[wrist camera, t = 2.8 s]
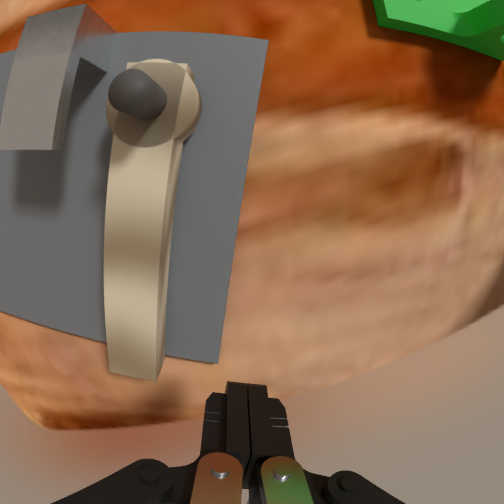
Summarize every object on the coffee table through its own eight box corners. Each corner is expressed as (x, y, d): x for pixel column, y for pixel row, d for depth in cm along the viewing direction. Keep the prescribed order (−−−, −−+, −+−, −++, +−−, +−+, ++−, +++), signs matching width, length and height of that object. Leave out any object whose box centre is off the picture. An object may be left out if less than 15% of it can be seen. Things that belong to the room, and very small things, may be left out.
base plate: (267, 46, 15) (268, 40, 14) (218, 355, 21) (218, 363, 20) (4, 57, 14) (-3, 54, 13) (-7, 301, 19) (-13, 305, 18)
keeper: (117, 33, 14) (86, 3, 9) (93, 150, 16) (51, 149, 11) (65, 39, 13) (27, 17, 9) (42, 149, 15) (-3, 150, 11)
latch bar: (131, 71, 14) (93, 42, 9) (208, 74, 14) (194, 40, 10) (112, 348, 19) (83, 395, 14) (174, 361, 19) (158, 414, 14)
